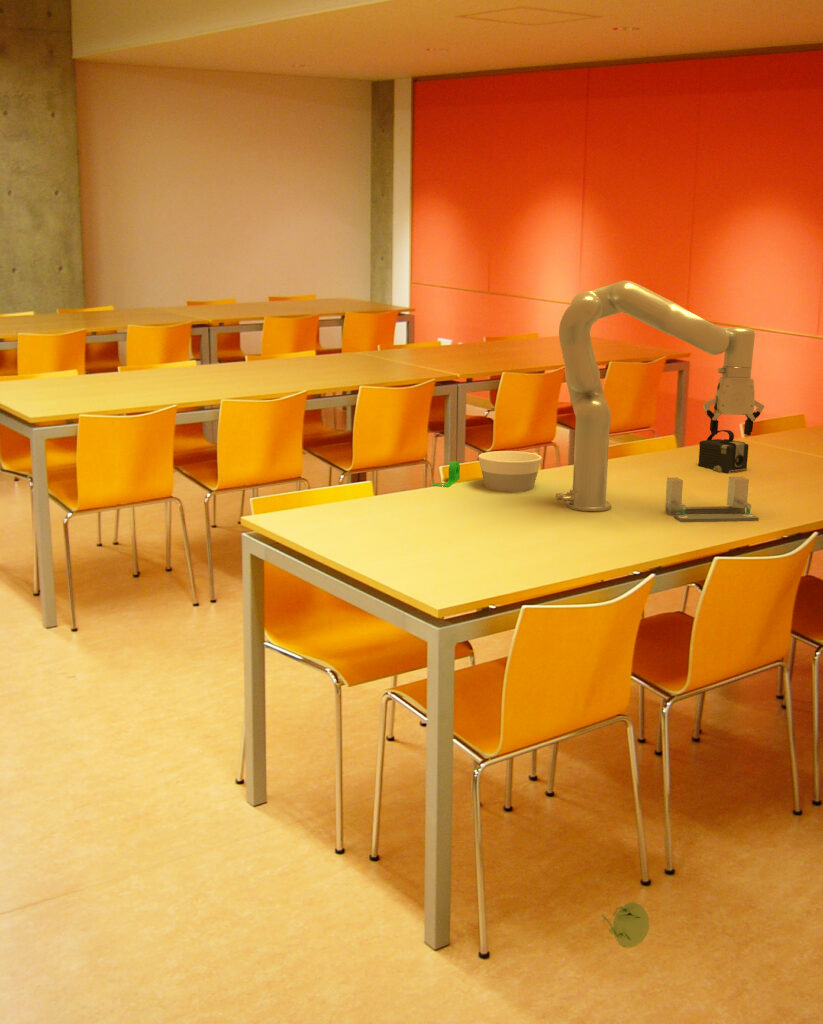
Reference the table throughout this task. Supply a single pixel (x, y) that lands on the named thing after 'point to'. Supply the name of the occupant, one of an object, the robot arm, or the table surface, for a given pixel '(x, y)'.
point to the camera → (723, 454)
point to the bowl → (509, 470)
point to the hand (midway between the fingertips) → (730, 434)
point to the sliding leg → (738, 493)
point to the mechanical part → (451, 475)
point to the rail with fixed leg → (677, 508)
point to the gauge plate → (716, 517)
